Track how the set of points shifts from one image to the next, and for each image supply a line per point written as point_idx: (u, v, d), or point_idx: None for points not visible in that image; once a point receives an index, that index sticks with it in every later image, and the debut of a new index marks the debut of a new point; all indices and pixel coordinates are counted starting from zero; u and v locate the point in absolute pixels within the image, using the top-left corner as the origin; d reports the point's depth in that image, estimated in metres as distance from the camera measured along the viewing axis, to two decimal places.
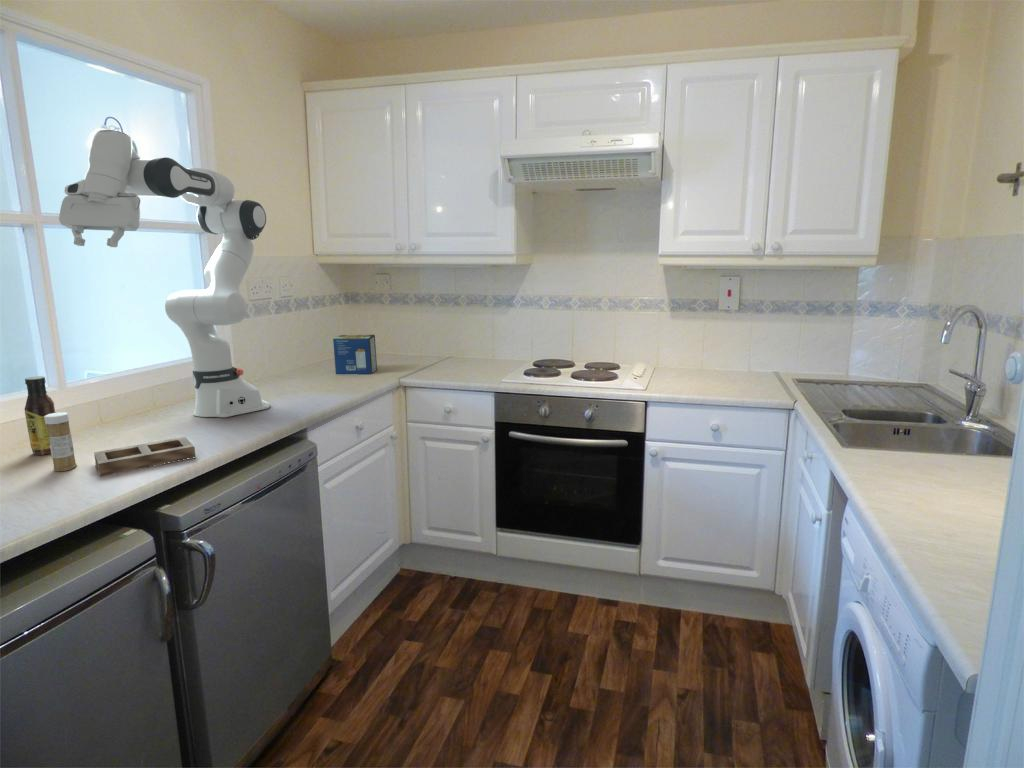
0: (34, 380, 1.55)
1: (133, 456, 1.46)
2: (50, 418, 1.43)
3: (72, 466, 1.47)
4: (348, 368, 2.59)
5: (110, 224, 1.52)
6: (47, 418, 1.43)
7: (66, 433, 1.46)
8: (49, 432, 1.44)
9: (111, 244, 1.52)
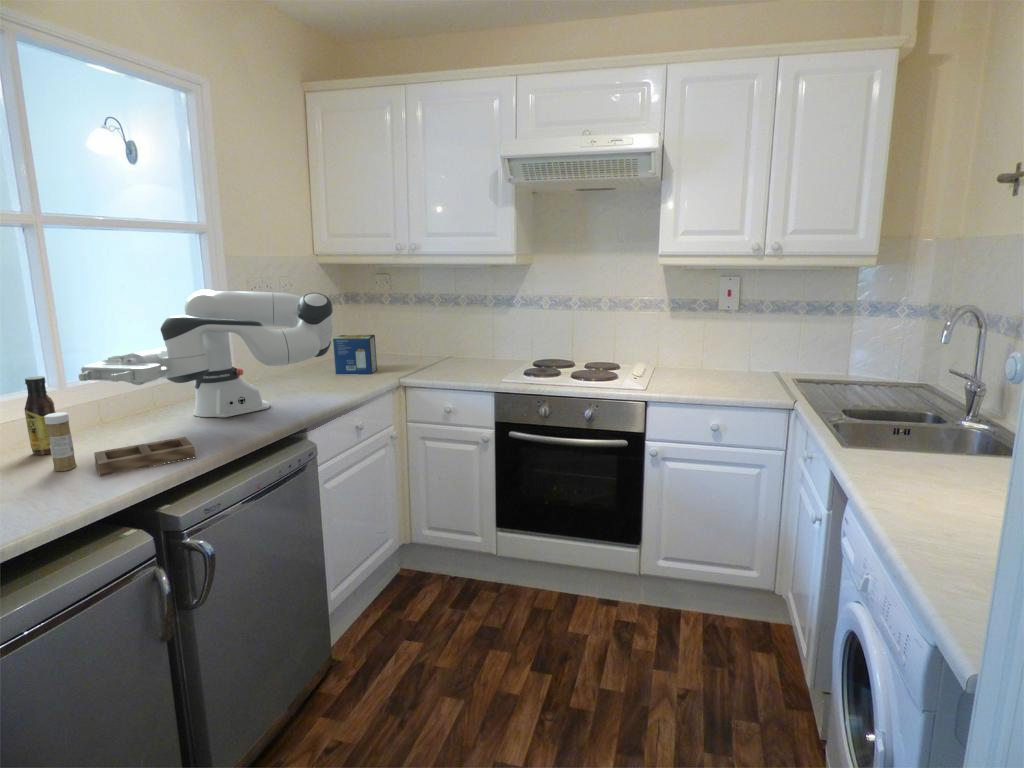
0: (34, 380, 1.55)
1: (133, 456, 1.46)
2: (50, 418, 1.43)
3: (72, 466, 1.47)
4: (348, 368, 2.59)
5: (128, 368, 1.59)
6: (47, 418, 1.43)
7: (66, 433, 1.46)
8: (49, 432, 1.44)
9: (115, 375, 1.54)
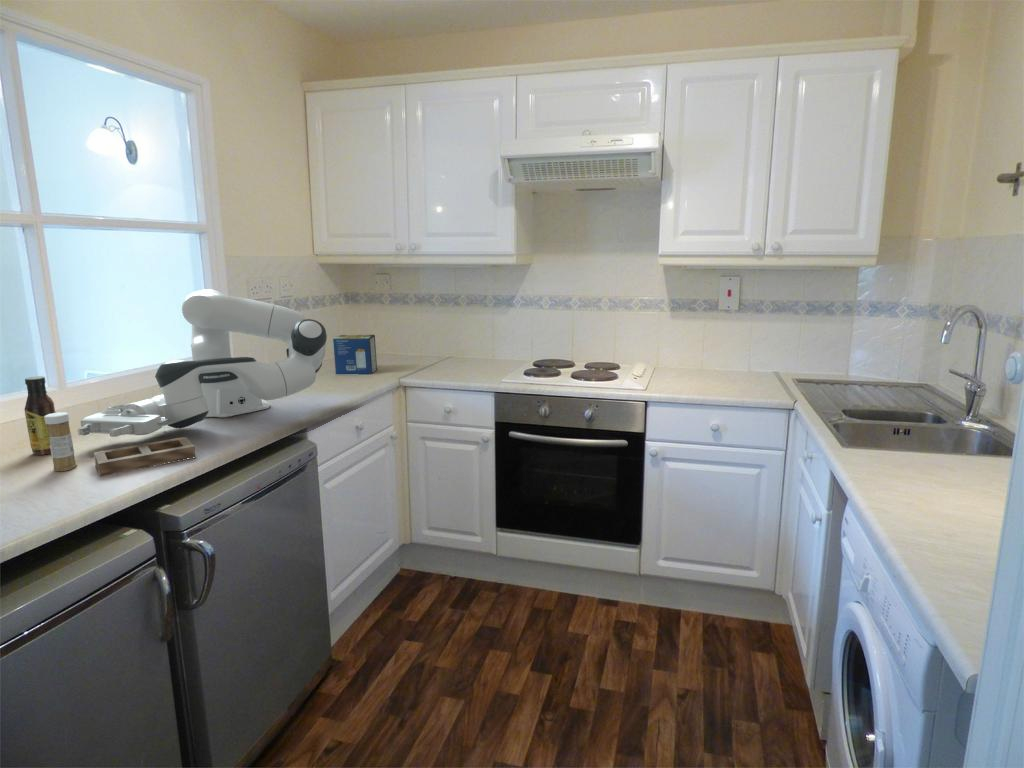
0: (34, 380, 1.55)
1: (133, 456, 1.46)
2: (50, 418, 1.43)
3: (72, 466, 1.47)
4: (348, 368, 2.59)
5: (127, 421, 1.58)
6: (47, 418, 1.43)
7: (66, 433, 1.46)
8: (49, 432, 1.44)
9: (114, 430, 1.54)
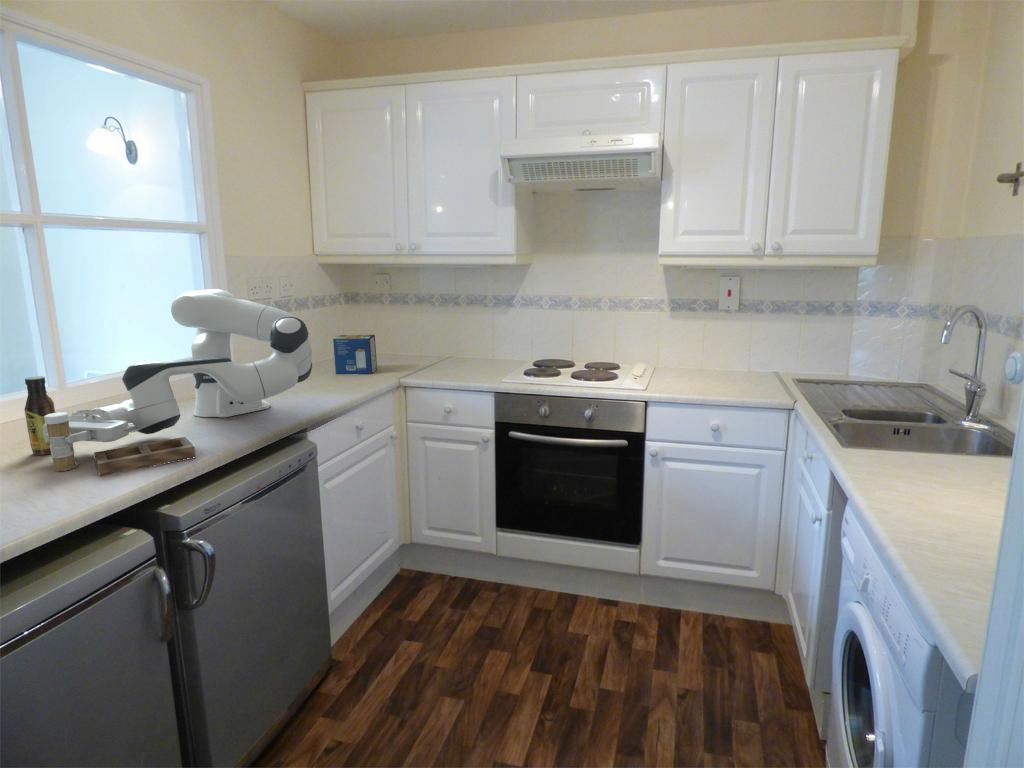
0: (34, 380, 1.55)
1: (133, 456, 1.46)
2: (50, 418, 1.43)
3: (72, 466, 1.47)
4: (348, 368, 2.59)
5: (91, 427, 1.49)
6: (47, 418, 1.43)
7: (66, 433, 1.46)
8: (49, 432, 1.44)
9: (69, 436, 1.45)
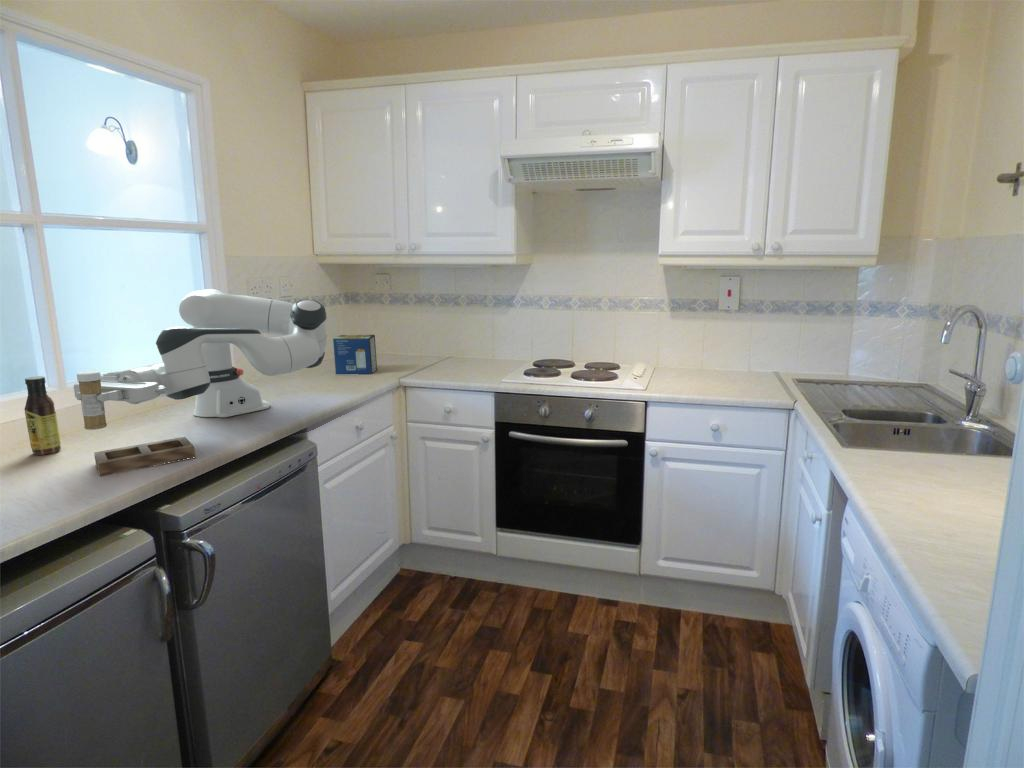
0: (34, 380, 1.55)
1: (133, 456, 1.46)
2: (82, 376, 1.42)
3: (103, 425, 1.46)
4: (348, 368, 2.59)
5: (123, 387, 1.48)
6: (79, 375, 1.42)
7: (97, 391, 1.44)
8: (81, 390, 1.43)
9: (101, 394, 1.44)
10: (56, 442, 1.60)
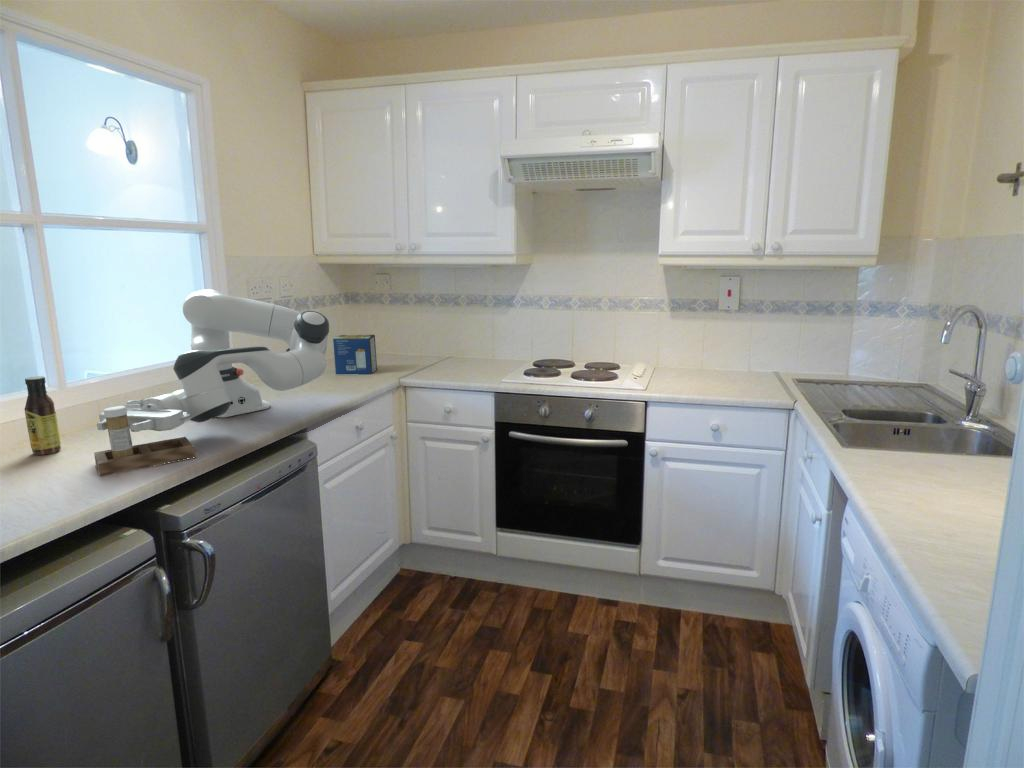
0: (34, 380, 1.55)
1: (133, 456, 1.46)
2: (109, 412, 1.45)
3: None
4: (348, 368, 2.59)
5: (149, 416, 1.50)
6: (107, 411, 1.45)
7: (125, 426, 1.47)
8: (109, 425, 1.46)
9: (135, 425, 1.46)
10: (56, 442, 1.60)
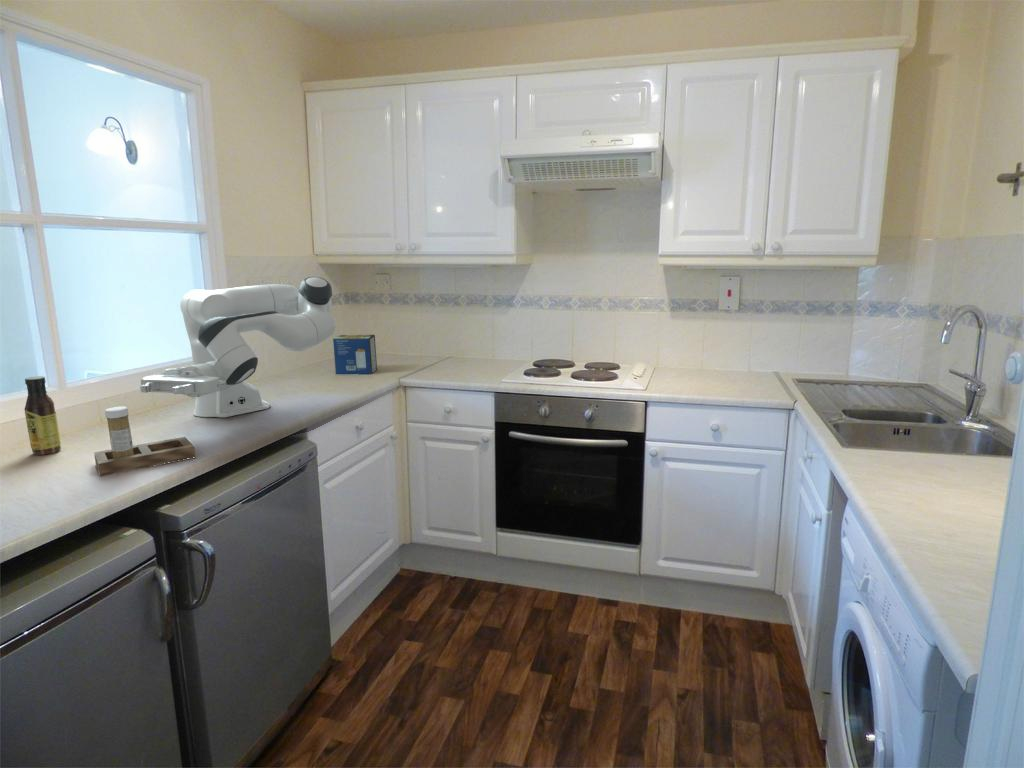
0: (34, 380, 1.55)
1: (133, 456, 1.46)
2: (111, 412, 1.45)
3: None
4: (348, 368, 2.59)
5: (189, 380, 1.61)
6: (108, 412, 1.45)
7: (126, 426, 1.47)
8: (110, 426, 1.46)
9: (177, 387, 1.56)
10: (56, 442, 1.60)
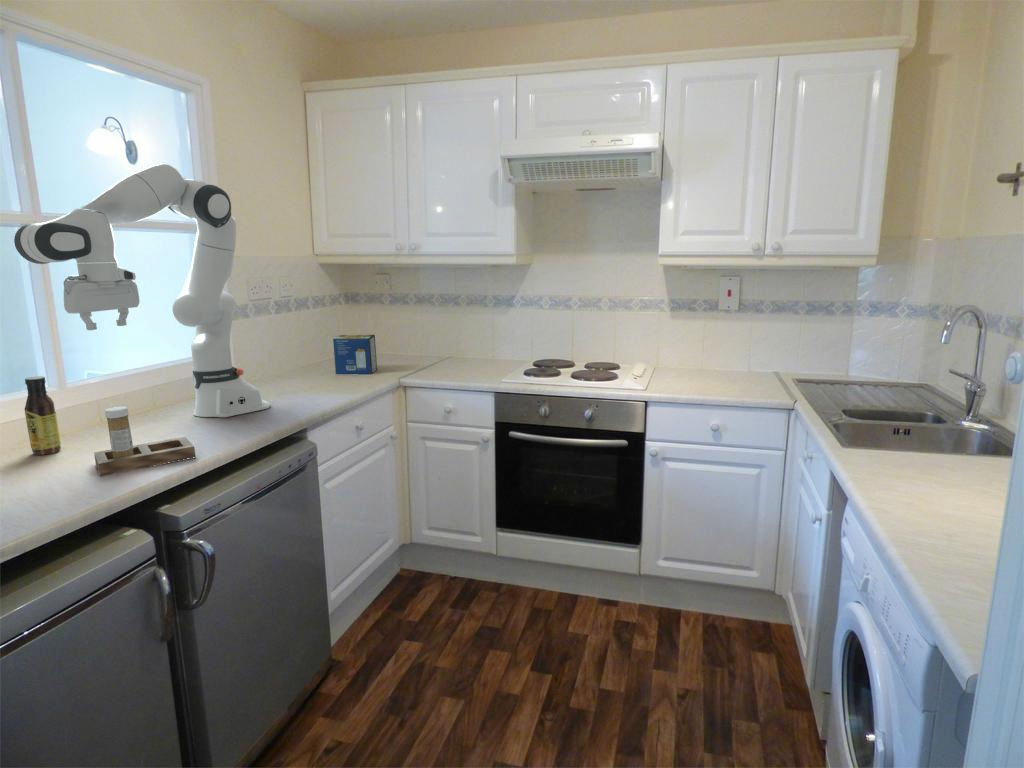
0: (34, 380, 1.55)
1: (133, 456, 1.46)
2: (111, 412, 1.45)
3: None
4: (348, 368, 2.59)
5: None
6: (108, 412, 1.45)
7: (126, 426, 1.47)
8: (110, 426, 1.46)
9: None
10: (56, 442, 1.60)
